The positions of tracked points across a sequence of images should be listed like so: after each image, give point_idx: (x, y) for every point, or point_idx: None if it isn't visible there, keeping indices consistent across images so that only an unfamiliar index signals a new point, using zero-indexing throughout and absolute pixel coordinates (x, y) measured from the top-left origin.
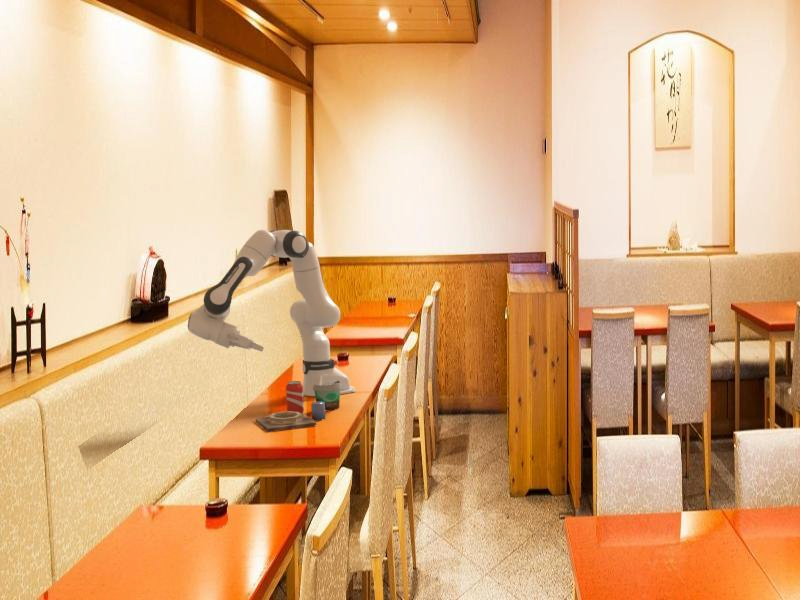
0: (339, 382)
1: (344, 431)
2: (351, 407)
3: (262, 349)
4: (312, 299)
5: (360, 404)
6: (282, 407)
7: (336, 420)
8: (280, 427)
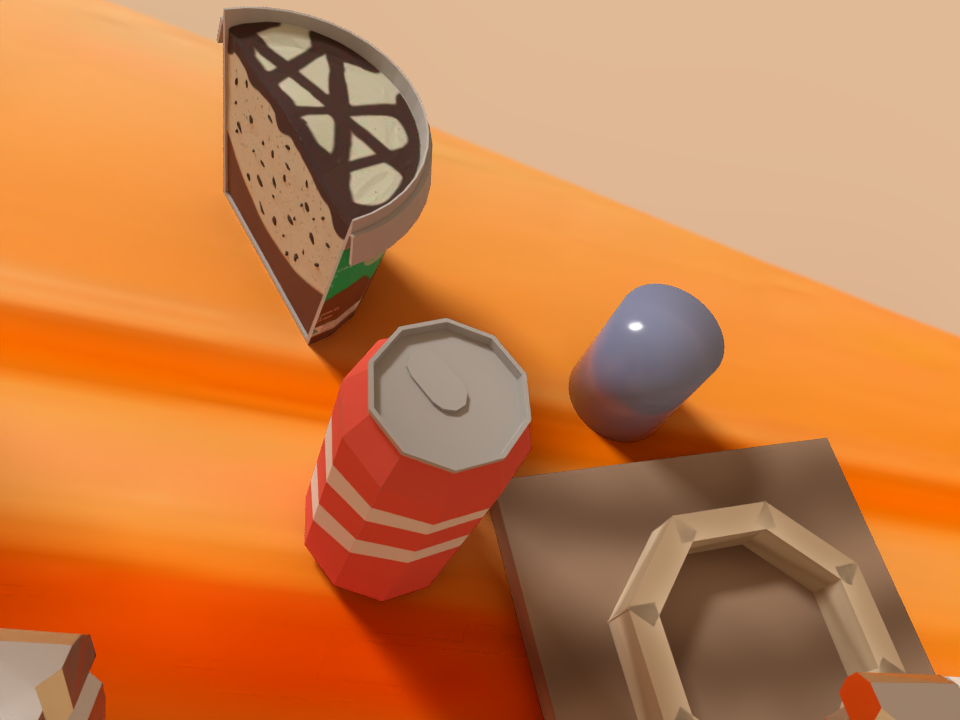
0: (276, 20)
1: (943, 331)
2: None
3: (83, 686)
4: None
5: None
6: (40, 622)
7: None
8: None
